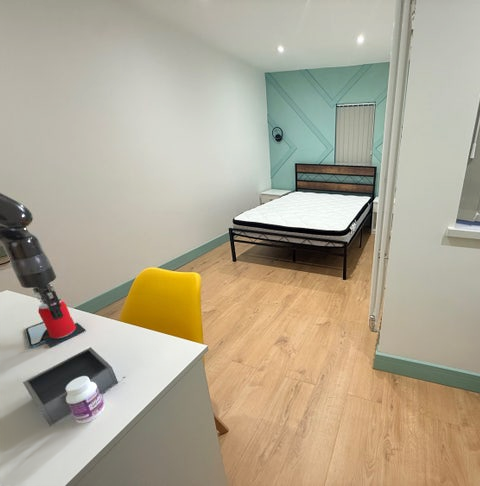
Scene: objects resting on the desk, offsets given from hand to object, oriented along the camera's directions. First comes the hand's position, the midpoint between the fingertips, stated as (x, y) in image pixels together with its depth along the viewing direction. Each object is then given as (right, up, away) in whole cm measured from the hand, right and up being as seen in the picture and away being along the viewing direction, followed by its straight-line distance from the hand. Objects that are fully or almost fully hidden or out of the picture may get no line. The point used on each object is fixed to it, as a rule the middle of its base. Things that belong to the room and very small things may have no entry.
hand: (55, 314), depth 84 cm
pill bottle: (+31, -18, -22) cm, 42 cm away
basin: (+22, -15, -16) cm, 32 cm away
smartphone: (-9, -8, +5) cm, 13 cm away
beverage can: (0, -7, +3) cm, 8 cm away
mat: (0, -8, +3) cm, 9 cm away
